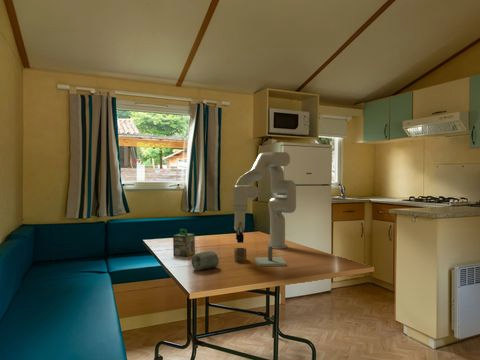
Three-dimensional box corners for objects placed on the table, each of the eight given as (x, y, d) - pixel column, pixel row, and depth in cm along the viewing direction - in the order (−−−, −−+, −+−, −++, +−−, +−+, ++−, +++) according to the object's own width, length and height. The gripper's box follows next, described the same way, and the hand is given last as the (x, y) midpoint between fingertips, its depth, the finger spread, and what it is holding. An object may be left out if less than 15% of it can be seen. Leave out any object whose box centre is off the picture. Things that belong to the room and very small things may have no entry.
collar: (234, 259, 184) (234, 247, 184) (245, 258, 184) (245, 247, 184) (234, 261, 178) (234, 250, 178) (246, 261, 178) (246, 250, 178)
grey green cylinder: (196, 266, 154) (197, 245, 159) (187, 272, 161) (188, 251, 166) (222, 270, 161) (222, 249, 166) (213, 275, 168) (213, 255, 173)
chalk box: (195, 253, 197) (195, 228, 197) (186, 257, 188) (186, 230, 188) (182, 252, 201) (182, 227, 201) (172, 255, 192) (172, 229, 192)
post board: (255, 259, 182) (255, 244, 182) (281, 259, 183) (281, 244, 183) (258, 266, 168) (258, 249, 168) (286, 265, 169) (286, 249, 169)
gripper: (232, 207, 189) (231, 238, 189) (233, 209, 172) (233, 243, 171) (245, 207, 189) (245, 238, 189) (248, 209, 172) (248, 243, 172)
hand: (239, 241), depth 180 cm, fingers open, 9 cm apart
